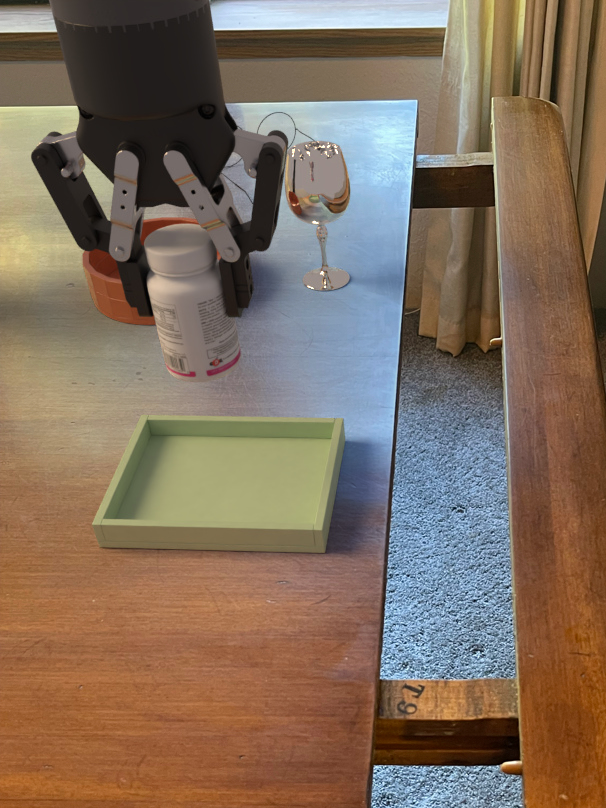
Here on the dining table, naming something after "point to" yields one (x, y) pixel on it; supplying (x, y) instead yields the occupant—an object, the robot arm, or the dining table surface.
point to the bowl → (107, 277)
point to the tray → (224, 484)
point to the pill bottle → (190, 304)
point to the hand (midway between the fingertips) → (192, 309)
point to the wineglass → (318, 200)
